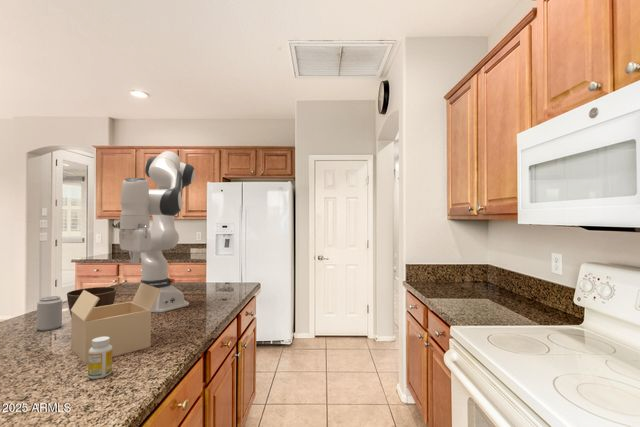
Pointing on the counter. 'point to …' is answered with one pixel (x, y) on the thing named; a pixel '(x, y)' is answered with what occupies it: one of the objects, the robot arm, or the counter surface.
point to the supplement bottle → (100, 358)
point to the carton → (112, 329)
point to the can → (49, 313)
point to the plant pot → (101, 292)
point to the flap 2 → (146, 295)
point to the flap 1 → (84, 305)
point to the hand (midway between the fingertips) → (134, 264)
